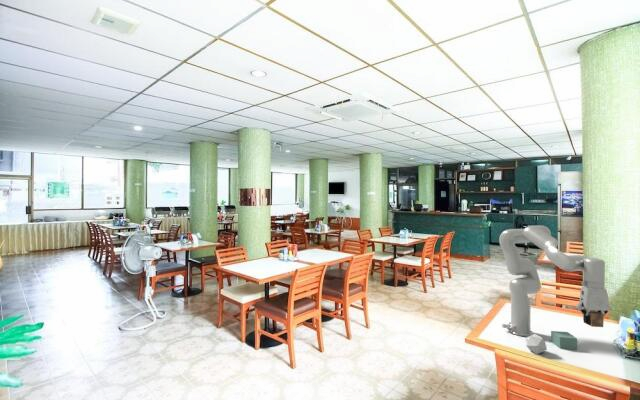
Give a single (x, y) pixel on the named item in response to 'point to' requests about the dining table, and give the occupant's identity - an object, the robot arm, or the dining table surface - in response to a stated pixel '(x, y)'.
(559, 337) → the base block
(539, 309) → the dining table surface
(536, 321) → the dining table surface
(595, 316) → the walnut block
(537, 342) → the die
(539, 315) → the dining table surface
